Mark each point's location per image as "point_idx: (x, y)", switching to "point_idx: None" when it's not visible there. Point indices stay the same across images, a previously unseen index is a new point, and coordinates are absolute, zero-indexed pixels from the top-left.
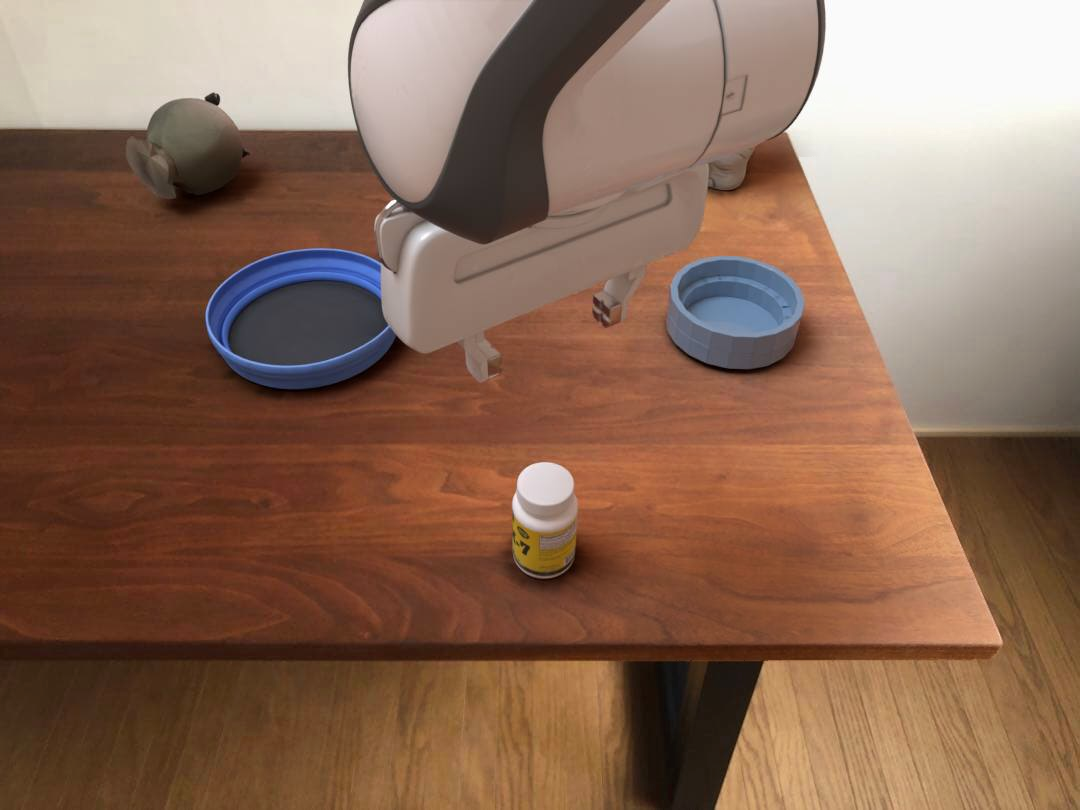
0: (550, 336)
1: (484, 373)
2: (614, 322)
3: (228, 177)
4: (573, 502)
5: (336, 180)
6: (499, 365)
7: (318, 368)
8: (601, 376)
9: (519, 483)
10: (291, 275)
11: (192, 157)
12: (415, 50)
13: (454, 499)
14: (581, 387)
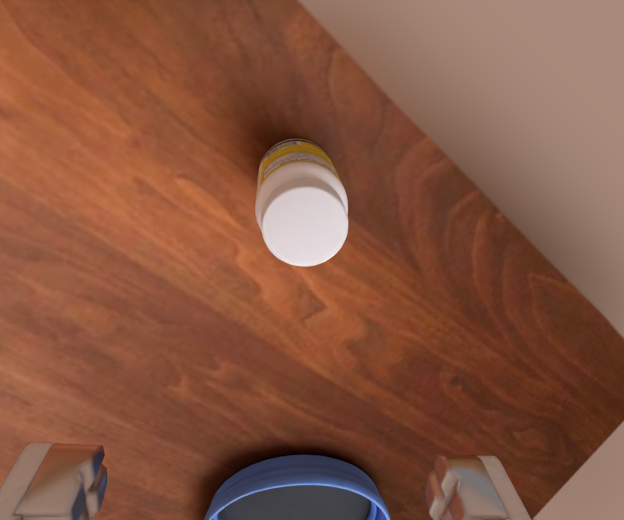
0: (81, 405)
1: (501, 479)
2: (71, 453)
3: None
4: (273, 185)
5: None
6: (459, 483)
7: (338, 480)
8: (59, 332)
9: (335, 250)
10: None
11: None
12: None
13: (322, 291)
14: (94, 332)
